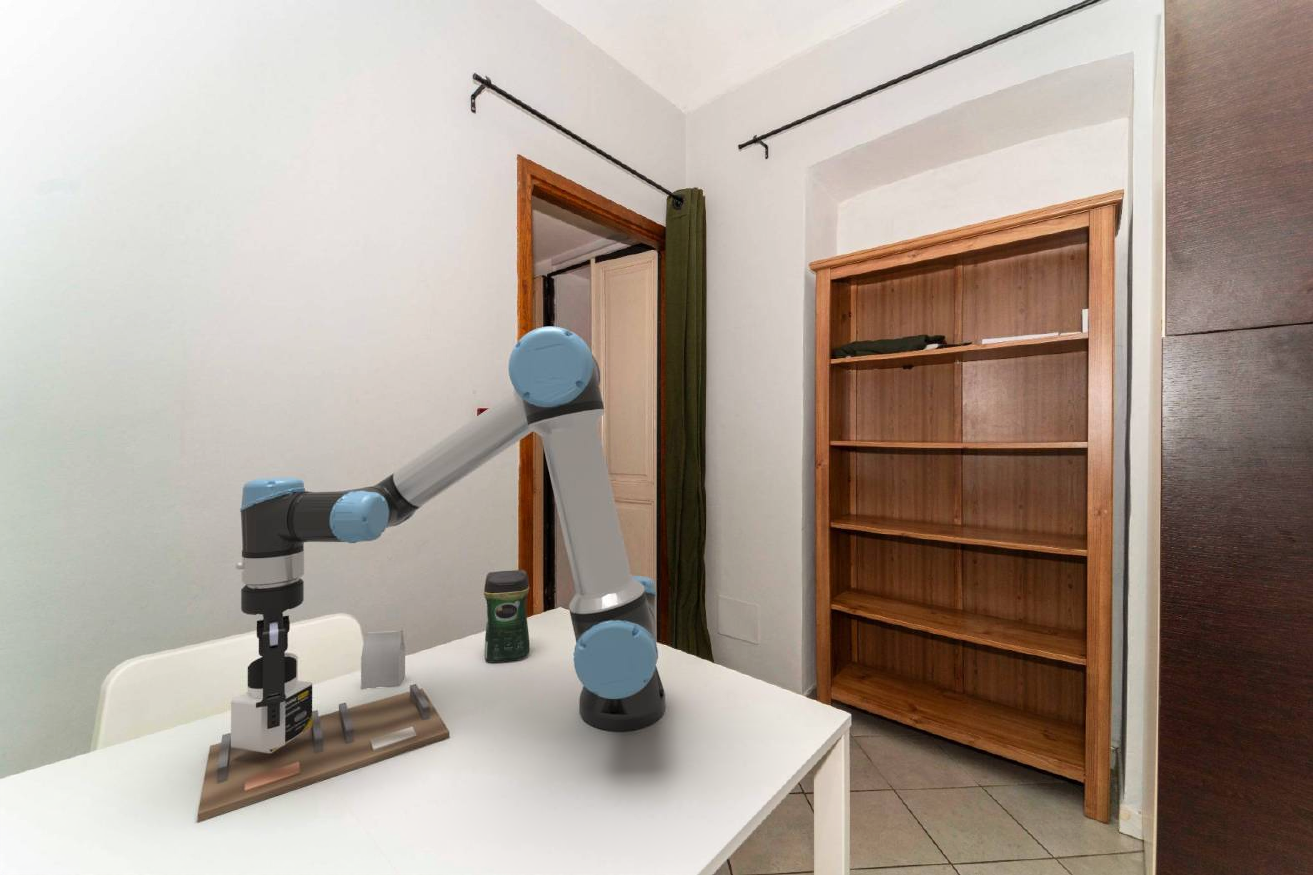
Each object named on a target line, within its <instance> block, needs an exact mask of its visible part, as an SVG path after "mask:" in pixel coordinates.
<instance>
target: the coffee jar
mask: <svg viewBox="0 0 1313 875" xmlns="http://www.w3.org/2000/svg"><path fill="white" fill-rule="evenodd" d="M484 582H485V583H484V589H483V596H484V599H485V601H486V626H485V634H484V635H485V638H484V650H483V651H484V653H483V654H484V659H485V660H486V661H488V662H489V663H490V662H491V663H501V662H511V661H516V660H521V659H524V658H525V657H527V656H528V655H529V654H530V648H531V647H530V634H529V626H528V624H529V623H528V616H527V615H528V613H527V598H528V595H529V591H530V584H529V579H528V573H527V571H526V570H525V569H517V570H516V569H515V570H513V569H512V570H501V571H490V572H488V573H487V575H486V577H485V581H484Z"/></svg>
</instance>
